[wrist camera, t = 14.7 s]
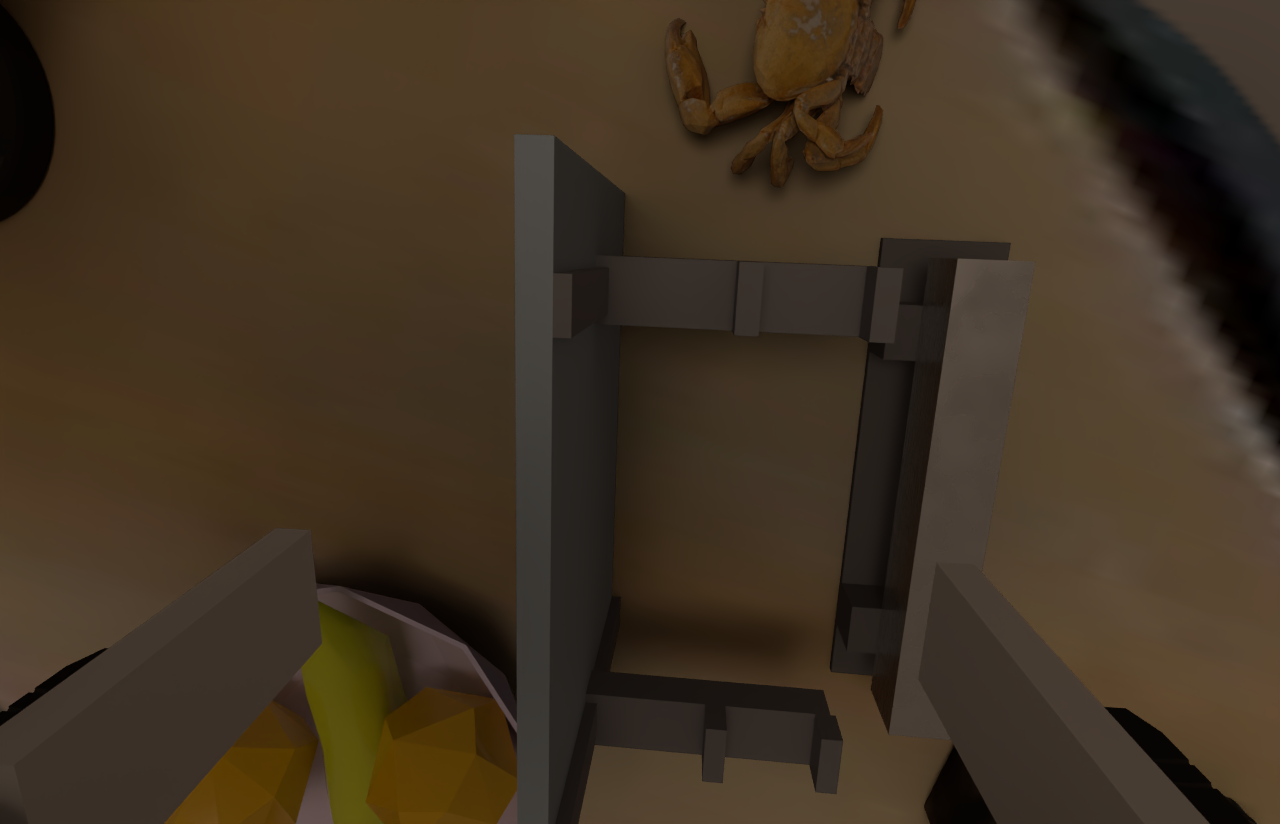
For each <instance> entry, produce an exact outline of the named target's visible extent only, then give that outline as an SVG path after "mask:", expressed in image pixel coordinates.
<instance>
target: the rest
mask: <svg viewBox="0 0 1280 824" xmlns="http://www.w3.org/2000/svg"><path fill="white" fill-rule="evenodd" d="M1010 244H1011V243H998V242H971V241H945V240H919V239H892V238H881V242H880V251H879V259H878V267H891V268H904V270H903V278H902V286H901V293H900V301H899V309H898V317H897V325H896V332H895V340H894V343H876V342H869V343H868V351H867V360H866V368H865V376H864V385H863V393H862V402H861V410H860V418H859V427H858V435H857V444H856V452H855V460H854V469H853V477H852V485H851V494H850V502H849V511H848V519H847V527H846V536H845V544H844V553H843V561H842V569H841V578H840V586H839V595H838V603H837V611H836V620H835V628H834V636H833V645H832V653H831V662H830V670H831V672H837V673H849V674H861V675H873V670H874V662H875V655H876V647H877V640H878V633H879V625H880V618H881V611H882V603H883V596H884V589H885V581H886V574H887V566H888V559H889V552H890V544H891V537H892V530H893V522H894V515H895V508H896V500H897V493H898V485H899V478H900V471H901V463H902V456H903V449H904V441H905V434H906V426H907V419H908V412H909V404H910V397H911V390H912V382H913V375H914V368H915V360H916V353H917V345H918V338H919V331H920V323H921V316H922V309H923V301H924V294H925V287H926V279H927V272H928V264H929V258H956V259H982V260H1008V257H1009V251H1010Z"/></svg>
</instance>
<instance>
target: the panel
mask: <svg viewBox="0 0 1280 824" xmlns="http://www.w3.org/2000/svg"><path fill="white" fill-rule="evenodd" d="M514 138H515V373H516V608H517V824H578V822H579V818H580V813H581V808H582V803H583V798H584V794H585V789H586V784H587V779H588V774H589V770H590V765H591V760H592V755H593V750H594V746H595V745H603V746H614V747H624V748H635V749H646V750H657V751H667V752H678V753H689V754H699V755H702V781H705V782H716V783H723V772H724V760H725V757H731V758H742V759H753V760H764V761H774V762H785V763H796V764H806V765H810V770H811V774H812V779H813V783H814V788H815V792H820V793H830V794H836V793H837V785H838V777H839V769H840V762H841V754H842V746H843V739H842V736H841V732H840V729H839V726H838V722H837V719H836V716H831V715H830V712H829V709H828V705H827V702H826V698H825V695H824V691H823V690H814V689H803V688H791V687H779V686H768V685H756V684H744V683H732V682H721V681H709V680H697V679H686V678H674V677H662V676H651V675H639V674H627V673H615V672H610V668H611V663H612V658H613V653H614V649H615V644H616V639H617V634H618V630H619V625H620V601H621V597H612V575H613V544H614V513H615V482H616V451H617V420H618V389H619V358H620V327H621V325H625V326H646V327H667V328H687V329H708V330H729V331H733V334H734V336H754V337H759V332H770V333H791V334H811V335H832V336H853V337H860V338H862V339H864V340H866V341H868V342H876V343H894V340H895V332H896V325H897V317H898V309H899V301H900V293H901V286H902V278H903V270H904V268H891V267H876V266H854V265H829V264H805V263H780V262H756V261H732V260H707V259H683V258H658V257H634V256H623V234H624V203H625V193H624V192H623V191H622V190H620V189H619V188H618V187H617V186H616V185H614V184H613V183H612V182H611V181H609V180H608V179H607V178H606V177H604V176H603V175H602V174H601V173H600V172H598V171H597V170H596V169H595V168H593V167H592V166H591V165H590V164H589V163H587V162H586V161H585V160H584V159H582V158H581V157H580V156H579V155H578V154H576V153H575V152H574V151H573V150H571V149H570V148H569V147H568V146H567V145H565V144H564V143H563V142H562V141H560V140H559V139H558V138H557V137H555V136H554V135H518V134H514Z"/></svg>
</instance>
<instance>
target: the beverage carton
mask: <svg viewBox="0 0 1280 824" xmlns="http://www.w3.org/2000/svg"><path fill="white" fill-rule="evenodd" d="M1226 799H1227V800H1228V801H1229V802H1230V803H1231V804H1232V805H1233V806H1234V807H1235V808H1236V809H1237V810H1238V811H1239V812H1240V813H1241V814H1242V815H1243V816H1244V817H1245V818H1246V819H1247V820H1248V821H1249V822H1250V823H1251V824H1257V823H1256V822H1255V821H1254V820H1253V819H1252V818H1251V817H1249V816H1248V815H1247V814H1246V813H1245V812H1244V811H1243V810H1242V809H1241V807H1240V806H1239V805H1238V804H1237V803H1236V802H1235V801H1233V800H1232V799H1230V798H1226ZM924 808H925V810H926V813H927V816H928V819H929V822H930V824H997V823H996V821H995V819H994V818H993V816H992V814H991V812H990V810H989V808H988V807H987V805H986V803H985V801H984V799H983V797H982V796H981V794H980V792H979V790H978V788H977V786H976V785H975V783H974V781H973V779H972V777H971V775H970V773H969V772H968V770H967V768H966V766H965V764H964V762H963V761H962V759H961V757H960V755H959V753H958V751H957V750H956V748H955V747H954V750H953V751H952V753H951V755H950V757H949V759H948V761H947V763H946V765H945V767H944V768H943V769H942V771H941V774H940V776H939V778H938V780H937V782H936V784H935V786H934V788H933V790H932V793H931V794H930V796H929V798H928V799H927V801H926V803H925V806H924Z"/></svg>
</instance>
